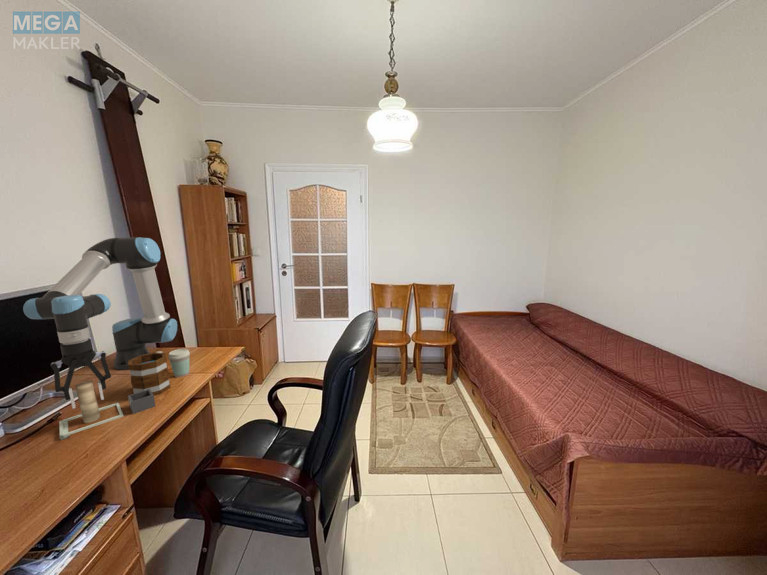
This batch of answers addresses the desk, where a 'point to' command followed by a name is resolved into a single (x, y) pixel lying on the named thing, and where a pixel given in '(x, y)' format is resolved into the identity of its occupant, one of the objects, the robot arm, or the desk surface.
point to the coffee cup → (179, 362)
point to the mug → (149, 373)
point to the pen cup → (141, 401)
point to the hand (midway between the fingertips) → (88, 402)
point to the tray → (65, 432)
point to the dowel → (87, 401)
